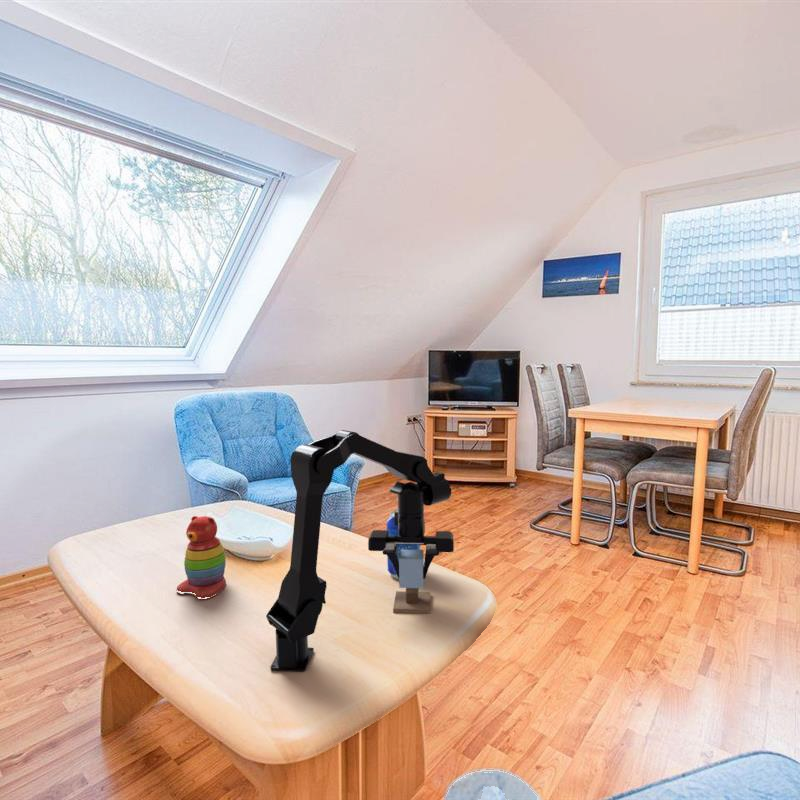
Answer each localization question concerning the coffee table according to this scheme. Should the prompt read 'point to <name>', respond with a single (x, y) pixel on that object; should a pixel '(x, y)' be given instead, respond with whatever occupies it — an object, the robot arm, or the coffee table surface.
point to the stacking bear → (203, 559)
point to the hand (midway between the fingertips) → (411, 577)
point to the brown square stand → (412, 601)
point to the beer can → (394, 532)
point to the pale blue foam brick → (411, 568)
